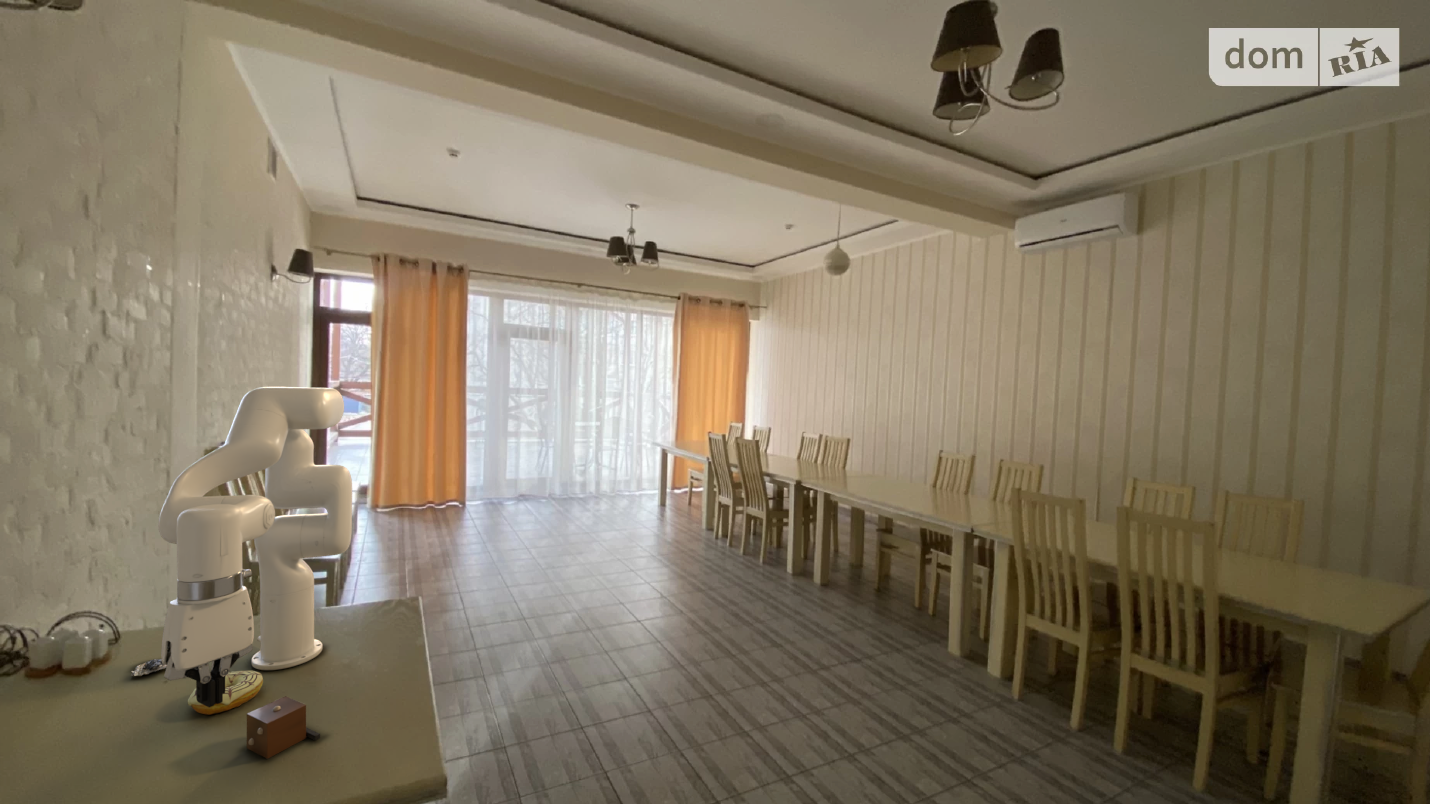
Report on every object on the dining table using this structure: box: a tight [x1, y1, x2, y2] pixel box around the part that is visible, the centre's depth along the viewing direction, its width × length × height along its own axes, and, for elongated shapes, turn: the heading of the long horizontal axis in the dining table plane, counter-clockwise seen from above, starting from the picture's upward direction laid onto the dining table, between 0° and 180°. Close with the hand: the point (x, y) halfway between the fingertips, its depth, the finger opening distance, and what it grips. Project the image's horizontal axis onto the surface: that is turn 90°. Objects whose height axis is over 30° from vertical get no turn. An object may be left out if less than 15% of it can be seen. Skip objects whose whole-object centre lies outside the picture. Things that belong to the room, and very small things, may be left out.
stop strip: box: [306, 727, 321, 741], centre depth 100 cm, size 10×1×1 cm, turn 66°
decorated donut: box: [187, 670, 264, 715], centre depth 108 cm, size 10×11×4 cm
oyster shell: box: [130, 658, 167, 677], centre depth 119 cm, size 7×8×2 cm
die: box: [246, 695, 307, 759], centre depth 96 cm, size 6×6×6 cm
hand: (210, 702), depth 88 cm, fingers closed
